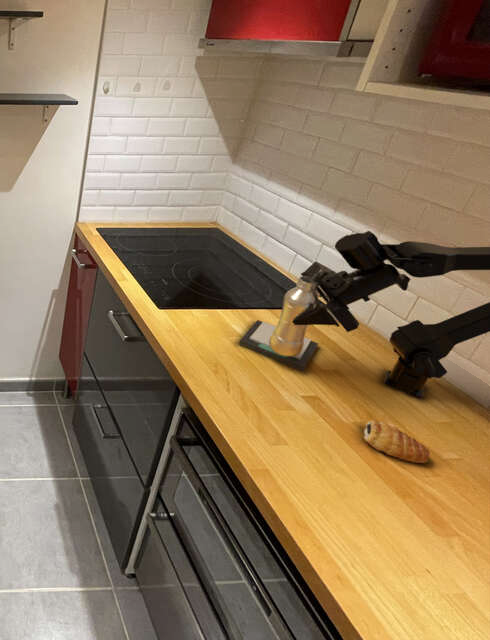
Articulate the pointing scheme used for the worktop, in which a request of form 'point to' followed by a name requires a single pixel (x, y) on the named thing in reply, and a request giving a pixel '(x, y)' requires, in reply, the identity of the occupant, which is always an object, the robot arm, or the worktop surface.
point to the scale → (259, 343)
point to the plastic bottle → (295, 304)
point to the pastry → (395, 442)
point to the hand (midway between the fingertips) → (288, 315)
